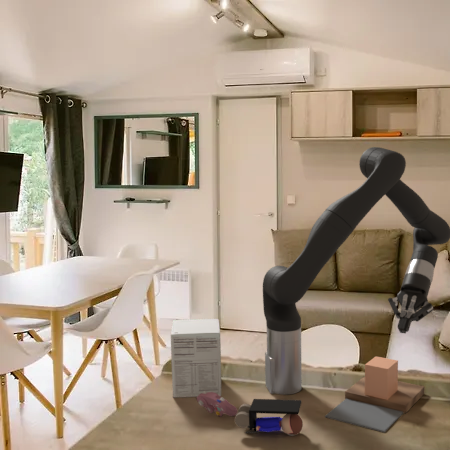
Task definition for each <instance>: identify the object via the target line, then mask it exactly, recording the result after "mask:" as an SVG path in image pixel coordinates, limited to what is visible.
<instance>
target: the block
mask: <svg viewBox="0 0 450 450" xmlns="http://www.w3.org/2000/svg"><path fill="white" fill-rule="evenodd" d="M398 372H399V360H397V359H392V358H387V357H381V356H374V357H373V358H372V359H370V360H369V361H368V362H366V363H365V364H364V376H365V395H369V396H373V397H378V398H382V399H386V400H388V399H389V398H390V397H391V396H392V395H393V394H394V393H395V392H396V391H397V390H398V381H399V377H398V375H399V373H398Z"/></svg>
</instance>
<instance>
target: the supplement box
mask: <svg viewBox="0 0 450 450" xmlns="http://www.w3.org/2000/svg"><path fill="white" fill-rule="evenodd" d="M170 351H171V352H170V354H171V356H170V357H171V358H170V359H171V360H170V361H171V380H172V385H171V386H172V398H191V397H192V398H193V397H194V398H197V397H198V396H199V395H200V394H201V393H203V392H204V391H206V392H214V393H217V394H218V395H219V396H221V397H222V353H221V351H222V350H221V328H220V320H219V318H201V319H200V318H199V319H175V320H174V319H173V320H172V323H171V332H170Z"/></svg>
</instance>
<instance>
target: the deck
mask: <svg viewBox="0 0 450 450" xmlns="http://www.w3.org/2000/svg"><path fill="white" fill-rule="evenodd" d="M424 395H425V386H423V385H419V384H414V383H409V382H406V381H400V380H398V390H397V391H396V392H395V393H394V394H393V395H392V396H391V397H390V398H389V399H388V400H386V399H382V398H378V397H373V396H369V395H365V377H364V376H363V377H362V378H360V379H359V380H358V381H356V382H355V383H354V384H352V386H350V387H349V388H348V389H346V390H345V391H344V400H345V399H346V398H347V399H351V400H355V401H360V402H364V403H368V404H372V405H376V406H381V407H385V408H389V409H393V410H398V411H402V412H403V414H406V413H408V411H409V410H410V409H411V408H412V407H413V406H414V405H415V404H416V403H417V402H418V401H419V400H420V399H421V398H423V396H424Z"/></svg>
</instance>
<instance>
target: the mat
mask: <svg viewBox="0 0 450 450" xmlns="http://www.w3.org/2000/svg"><path fill="white" fill-rule="evenodd" d="M402 415H404V413H403V412H402V411H398V410H393V409H389V408H385V407H381V406H376V405H372V404H368V403H364V402H360V401H355V400H351V399H347V398H346V399H345V398H344V400H343V401H341V402H340V403H339V404H337V405H336V406H335V407H334V408H333V409H332V410H330V411H329V412H328V413H327V414H325V415H324V416H325V418H328V419H331V420H335V421H339V422H343V423H346V424H351V425H353V426H358V427H361V428H365V429H370V430H373V431H377V432H381V433H386V432H387V431H388V430H389V429H390V428H391V427H392V425H394V424H395V422H396V421H397V420H399V418H400V417H401V416H402Z"/></svg>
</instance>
